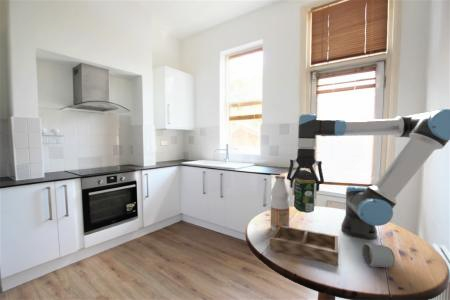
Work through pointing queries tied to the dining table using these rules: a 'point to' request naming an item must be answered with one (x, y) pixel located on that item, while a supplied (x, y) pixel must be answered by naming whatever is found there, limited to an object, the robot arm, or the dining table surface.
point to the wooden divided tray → (305, 244)
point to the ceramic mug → (378, 255)
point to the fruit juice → (279, 203)
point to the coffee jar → (304, 191)
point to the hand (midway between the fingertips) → (304, 196)
